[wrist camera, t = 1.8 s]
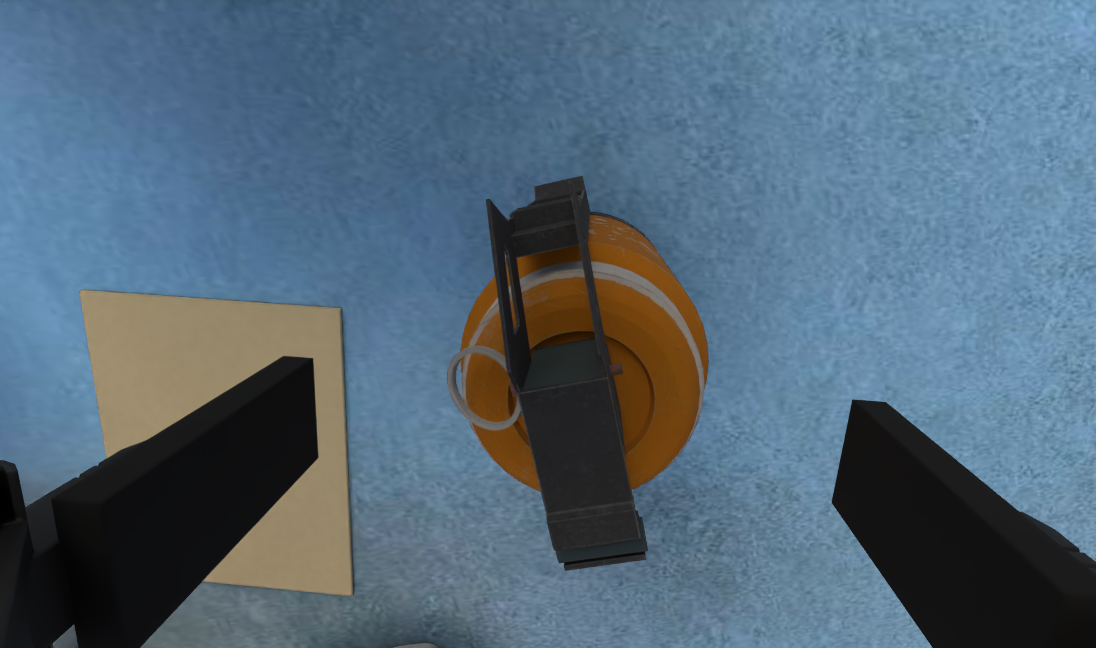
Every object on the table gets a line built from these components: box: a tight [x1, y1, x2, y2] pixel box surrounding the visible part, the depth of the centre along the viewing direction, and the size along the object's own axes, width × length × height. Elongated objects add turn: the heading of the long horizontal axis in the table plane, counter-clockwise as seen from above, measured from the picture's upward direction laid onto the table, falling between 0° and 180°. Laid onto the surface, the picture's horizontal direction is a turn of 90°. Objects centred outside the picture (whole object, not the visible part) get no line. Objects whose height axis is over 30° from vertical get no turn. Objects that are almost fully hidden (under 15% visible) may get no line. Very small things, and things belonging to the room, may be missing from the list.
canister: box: [447, 176, 709, 571], centre depth 24 cm, size 9×11×20 cm
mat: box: [79, 290, 353, 596], centre depth 38 cm, size 20×16×1 cm
